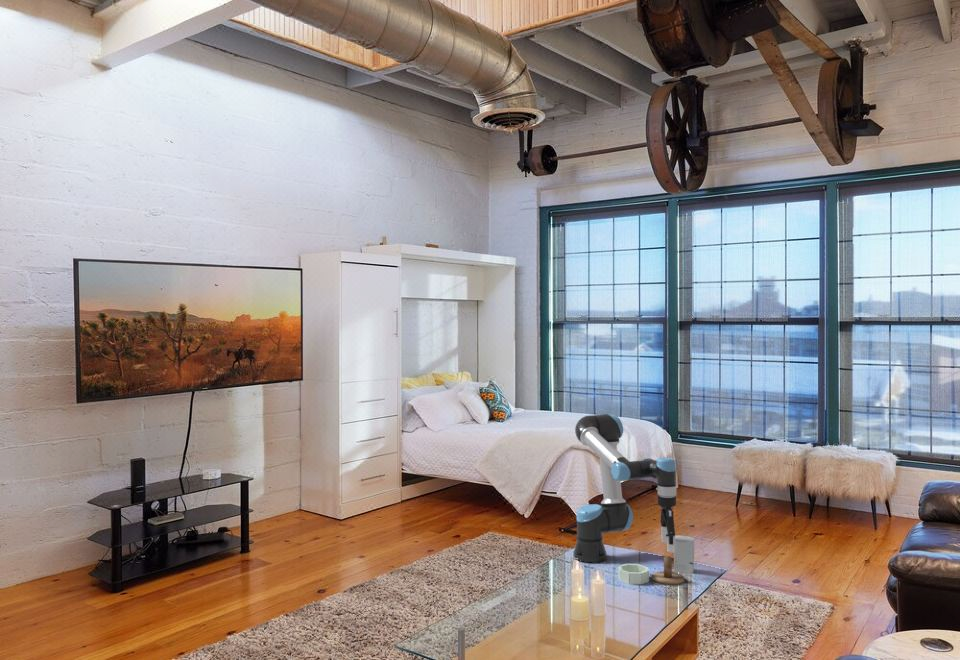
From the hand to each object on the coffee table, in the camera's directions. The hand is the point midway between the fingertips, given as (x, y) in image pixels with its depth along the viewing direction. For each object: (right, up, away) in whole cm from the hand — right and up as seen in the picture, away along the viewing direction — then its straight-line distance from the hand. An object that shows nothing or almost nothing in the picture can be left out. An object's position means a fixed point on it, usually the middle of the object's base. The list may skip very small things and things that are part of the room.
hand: (667, 547), depth 297 cm
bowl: (-14, -14, +1) cm, 20 cm away
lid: (0, -14, 0) cm, 14 cm away
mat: (0, -14, 0) cm, 14 cm away
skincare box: (+10, -14, +12) cm, 21 cm away
